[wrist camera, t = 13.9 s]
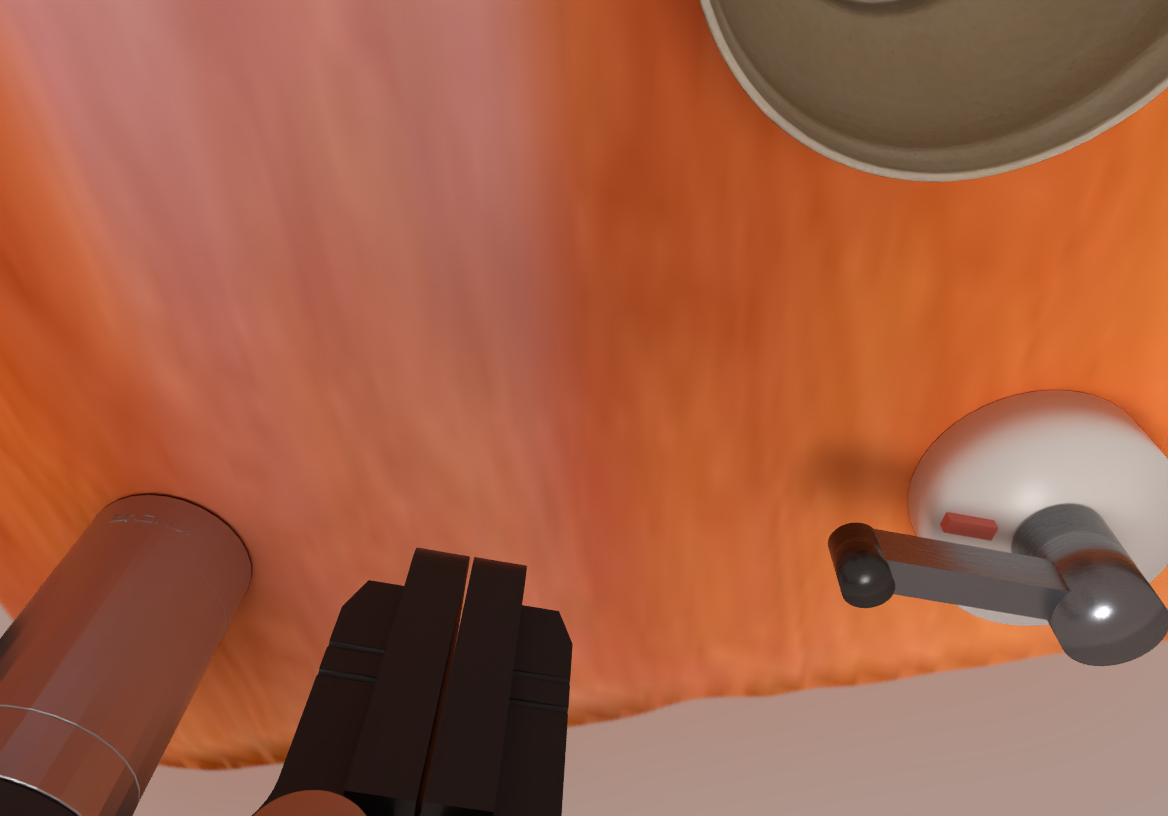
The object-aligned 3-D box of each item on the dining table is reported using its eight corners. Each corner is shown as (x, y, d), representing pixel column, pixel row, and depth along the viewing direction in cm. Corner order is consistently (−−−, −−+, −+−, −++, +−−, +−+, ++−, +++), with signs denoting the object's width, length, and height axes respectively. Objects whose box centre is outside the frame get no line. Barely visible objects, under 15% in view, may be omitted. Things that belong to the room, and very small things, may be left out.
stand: (1077, 588, 50) (1116, 650, 46) (874, 553, 49) (895, 613, 45) (1196, 414, 44) (1252, 469, 40) (964, 370, 43) (998, 422, 39)
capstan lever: (1124, 514, 42) (1191, 602, 37) (1079, 581, 44) (1136, 672, 39) (833, 461, 41) (861, 546, 36) (803, 533, 43) (825, 621, 38)
